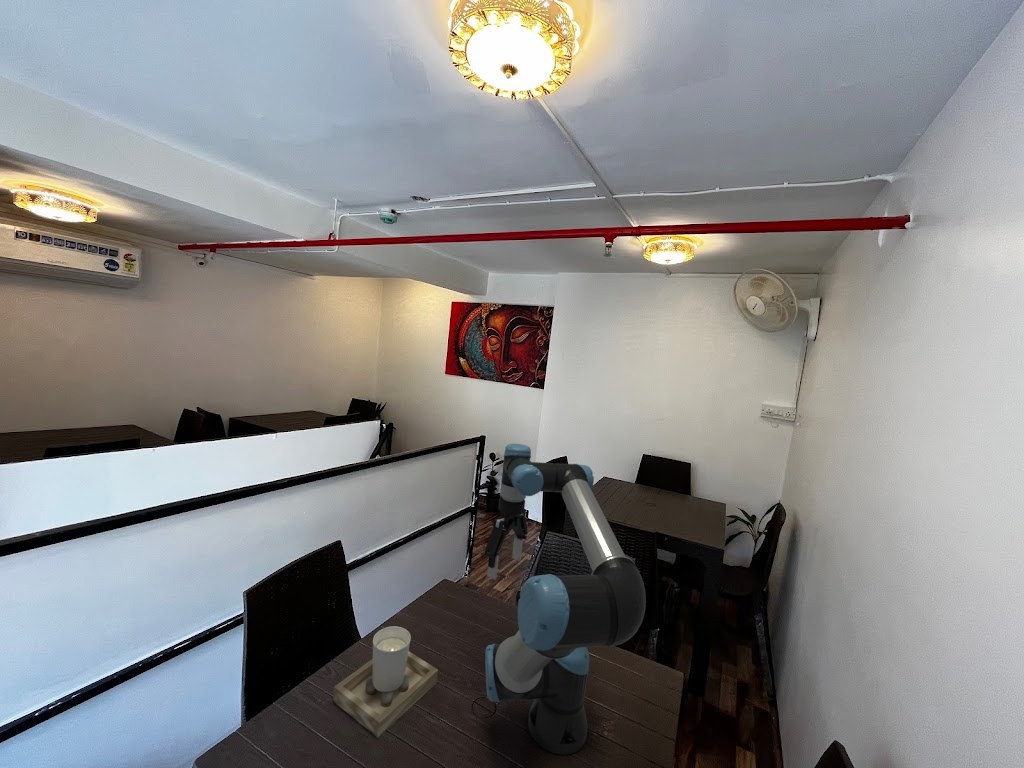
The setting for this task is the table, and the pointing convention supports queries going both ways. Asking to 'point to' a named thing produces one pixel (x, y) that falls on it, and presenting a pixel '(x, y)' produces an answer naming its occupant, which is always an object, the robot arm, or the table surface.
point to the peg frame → (383, 694)
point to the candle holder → (390, 658)
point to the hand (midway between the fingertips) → (504, 567)
